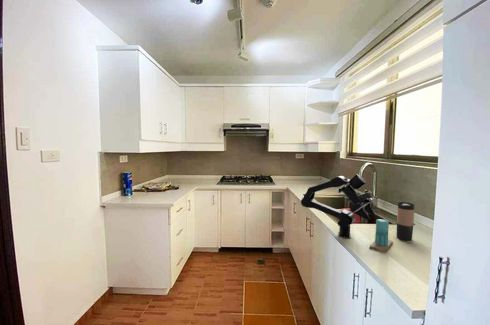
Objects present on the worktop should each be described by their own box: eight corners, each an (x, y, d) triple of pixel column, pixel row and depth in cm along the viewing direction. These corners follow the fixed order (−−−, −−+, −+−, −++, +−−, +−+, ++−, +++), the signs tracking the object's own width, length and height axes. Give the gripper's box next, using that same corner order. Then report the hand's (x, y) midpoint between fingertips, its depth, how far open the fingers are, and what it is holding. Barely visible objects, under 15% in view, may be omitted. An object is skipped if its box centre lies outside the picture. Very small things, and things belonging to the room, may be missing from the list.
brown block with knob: (369, 248, 117) (369, 239, 117) (378, 239, 129) (378, 231, 129) (385, 252, 113) (385, 244, 112) (392, 242, 124) (393, 235, 124)
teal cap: (374, 240, 124) (375, 218, 123) (386, 242, 122) (387, 220, 121) (376, 244, 119) (377, 221, 118) (388, 246, 117) (389, 223, 116)
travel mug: (409, 236, 132) (411, 202, 131) (414, 242, 125) (417, 206, 123) (393, 235, 134) (395, 201, 133) (398, 240, 127) (400, 205, 126)
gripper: (357, 188, 119) (380, 213, 112) (368, 183, 132) (389, 206, 125) (341, 200, 125) (362, 225, 118) (353, 195, 138) (372, 217, 131)
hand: (372, 218), depth 123 cm, fingers open, 9 cm apart
